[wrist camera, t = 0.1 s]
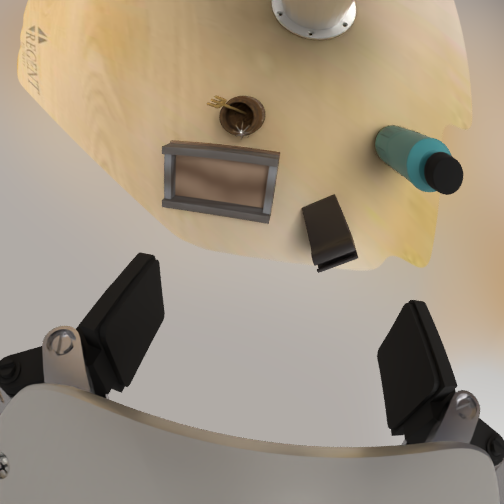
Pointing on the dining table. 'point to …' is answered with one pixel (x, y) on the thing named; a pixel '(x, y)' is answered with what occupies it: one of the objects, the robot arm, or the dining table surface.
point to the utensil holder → (240, 114)
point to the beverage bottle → (419, 159)
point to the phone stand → (328, 234)
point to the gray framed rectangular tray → (220, 179)
